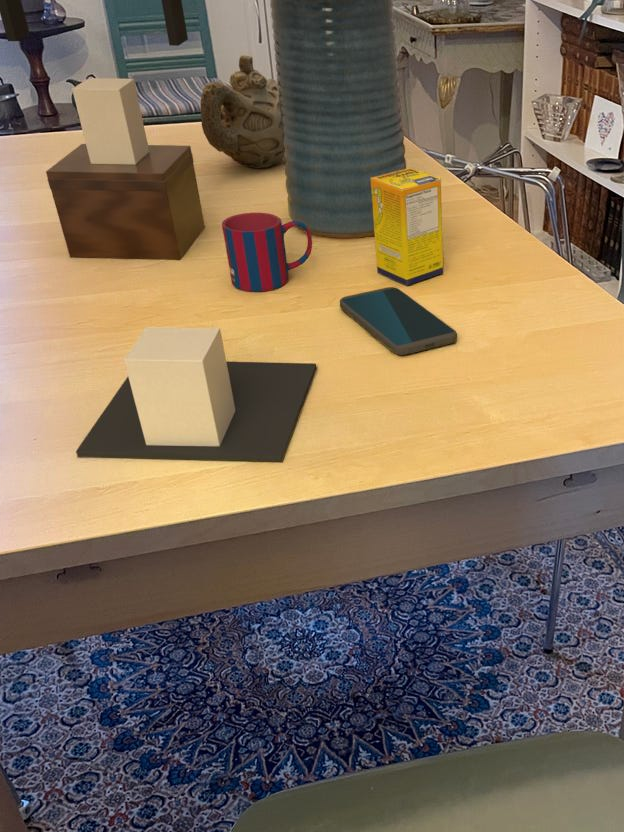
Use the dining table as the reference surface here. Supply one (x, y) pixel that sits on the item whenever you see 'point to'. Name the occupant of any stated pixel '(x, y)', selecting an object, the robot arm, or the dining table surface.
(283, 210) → the dining table surface
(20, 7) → the robot arm
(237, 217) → the mug
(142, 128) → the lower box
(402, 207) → the supplement box
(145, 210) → the brown rectangular block
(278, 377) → the rubber mat
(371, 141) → the vase
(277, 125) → the teapot
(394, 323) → the smartphone
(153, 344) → the upper box
